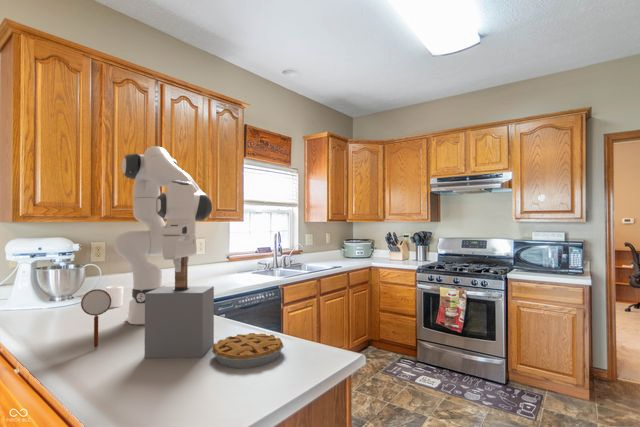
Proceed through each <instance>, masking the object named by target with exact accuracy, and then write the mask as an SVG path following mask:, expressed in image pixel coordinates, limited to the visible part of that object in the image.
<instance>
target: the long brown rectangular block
mask: <svg viewBox="0 0 640 427" xmlns="http://www.w3.org/2000/svg"><path fill="white" fill-rule="evenodd" d="M188 263H189V260H188V256H186V257H182V258H181V266H182V271H181V272H175V271H174V287H175V291H186V290H187V286H188V268H189V267H188Z"/></svg>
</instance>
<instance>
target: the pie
mask: <svg viewBox="0 0 640 427" xmlns="http://www.w3.org/2000/svg"><path fill="white" fill-rule="evenodd" d="M284 347H285V346H284V343H283V340H282V339H281V338H280V337H275V335H274V334H270V335H269V334H268V335H267V334H266V333H254V332H251V333H248V334H247V333H246V334H237V335H236V336H232V335H229V336H226V338H224V339H220V340H218V341H217V343H216V342H214V345H213V346H212V347H211V348H212V349H211V353H212V354H213V355H214V357H215V358H216V361H218V362H219V364H221V365H223V366H226V367H228V366H229V367H230V368H234V367H235V368H236V369H245V368H246V369H247V367H249V368H255V367H258V366H259V367H260V366H263V365H266V364H269V363H271V362H273V361H275V360H276V359H278V357H279V356H280V353H281V351H282V349H283V348H284Z"/></svg>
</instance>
